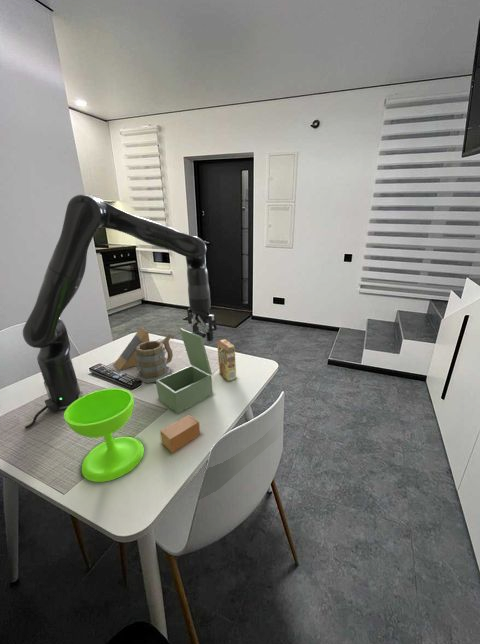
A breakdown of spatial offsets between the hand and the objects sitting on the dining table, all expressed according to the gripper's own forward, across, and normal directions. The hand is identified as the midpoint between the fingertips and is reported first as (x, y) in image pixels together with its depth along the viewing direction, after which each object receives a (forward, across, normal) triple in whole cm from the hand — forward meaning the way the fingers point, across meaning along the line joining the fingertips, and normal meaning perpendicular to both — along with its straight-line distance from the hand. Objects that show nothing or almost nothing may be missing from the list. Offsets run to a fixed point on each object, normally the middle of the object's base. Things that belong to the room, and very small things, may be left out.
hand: (203, 338), depth 108 cm
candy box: (+21, 0, +11) cm, 24 cm away
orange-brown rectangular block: (+21, +18, -24) cm, 37 cm away
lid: (+4, 0, -4) cm, 6 cm away
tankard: (+21, -25, -6) cm, 33 cm away
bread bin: (+21, 0, -10) cm, 23 cm away
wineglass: (+21, +10, -41) cm, 47 cm away
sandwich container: (+21, -43, -10) cm, 49 cm away
